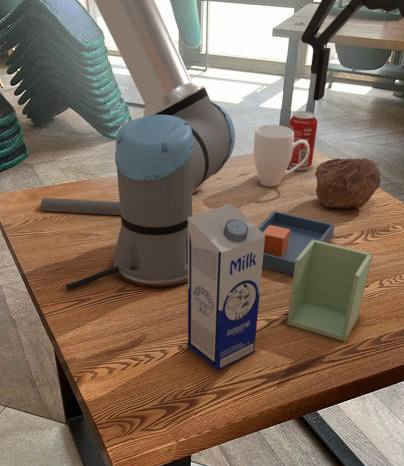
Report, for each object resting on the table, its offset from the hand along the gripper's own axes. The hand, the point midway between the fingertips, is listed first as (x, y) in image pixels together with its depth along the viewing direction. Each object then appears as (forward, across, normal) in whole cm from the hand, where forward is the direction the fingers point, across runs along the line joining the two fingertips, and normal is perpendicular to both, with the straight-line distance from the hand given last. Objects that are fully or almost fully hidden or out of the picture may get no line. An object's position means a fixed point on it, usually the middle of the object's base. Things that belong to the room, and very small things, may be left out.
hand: (363, 105), depth 83 cm
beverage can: (+27, +22, -42) cm, 54 cm away
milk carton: (+27, +7, +31) cm, 41 cm away
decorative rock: (+27, +6, -26) cm, 38 cm away
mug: (+27, +22, -30) cm, 46 cm away
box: (+27, -4, +17) cm, 32 cm away
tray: (+27, +10, -2) cm, 29 cm away
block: (+24, +11, -1) cm, 27 cm away
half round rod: (+27, +50, +2) cm, 57 cm away
